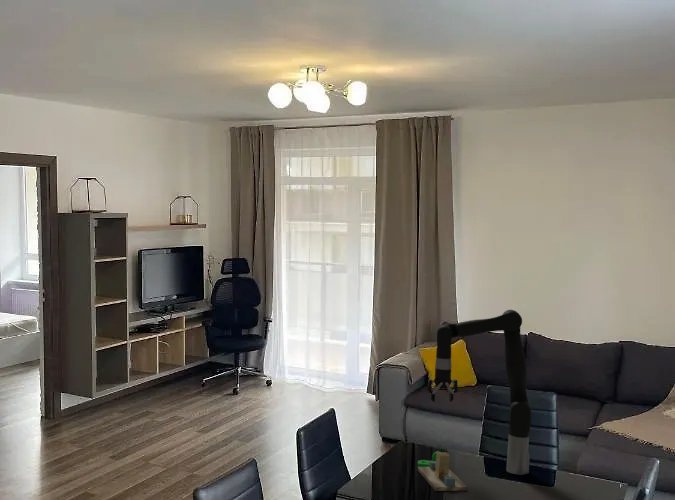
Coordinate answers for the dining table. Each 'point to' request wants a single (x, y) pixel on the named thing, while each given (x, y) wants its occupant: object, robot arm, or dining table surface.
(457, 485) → the board
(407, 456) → the dining table surface
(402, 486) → the dining table surface
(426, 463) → the mechanical part
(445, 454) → the tan square-topped block
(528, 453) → the robot arm
